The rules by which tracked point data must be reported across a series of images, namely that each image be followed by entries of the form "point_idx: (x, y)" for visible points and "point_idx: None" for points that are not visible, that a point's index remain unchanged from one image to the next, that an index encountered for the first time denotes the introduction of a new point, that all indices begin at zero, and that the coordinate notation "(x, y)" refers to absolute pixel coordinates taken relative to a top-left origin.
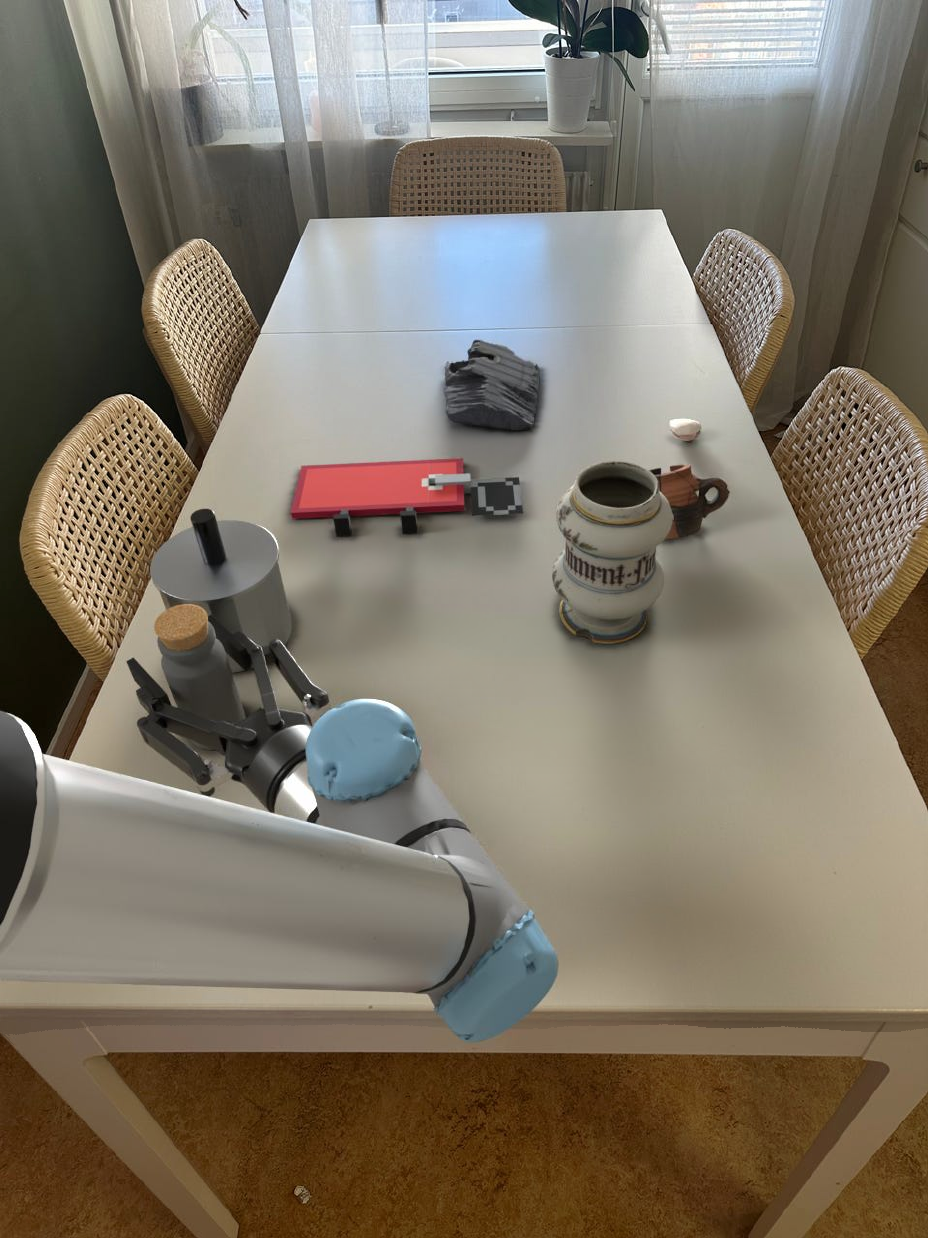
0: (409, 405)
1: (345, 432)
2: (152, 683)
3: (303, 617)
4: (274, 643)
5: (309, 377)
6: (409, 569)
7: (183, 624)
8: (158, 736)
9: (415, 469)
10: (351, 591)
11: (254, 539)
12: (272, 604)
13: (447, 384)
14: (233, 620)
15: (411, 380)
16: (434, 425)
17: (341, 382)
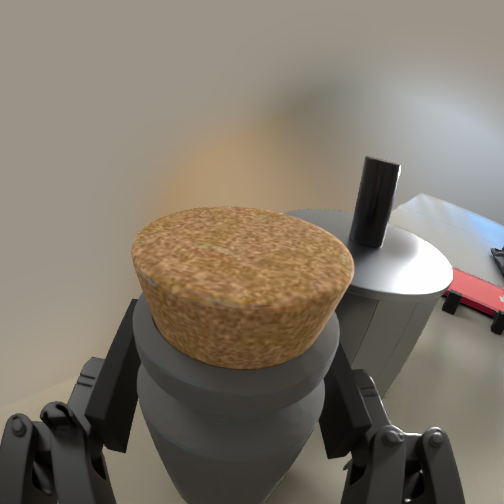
0: (476, 257)
1: (442, 252)
2: (111, 369)
3: (405, 375)
4: (438, 441)
5: (420, 224)
6: (499, 365)
7: (243, 250)
8: (2, 484)
9: (493, 288)
10: (454, 366)
11: (419, 247)
12: (410, 345)
13: (495, 256)
14: (351, 341)
15: (473, 248)
16: (492, 272)
17: (437, 233)
